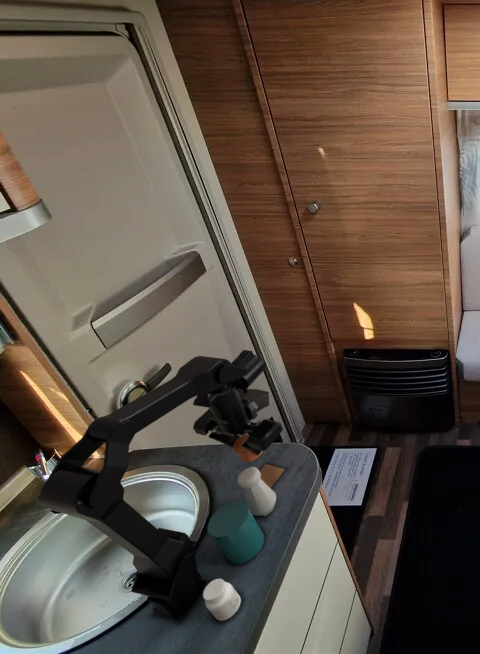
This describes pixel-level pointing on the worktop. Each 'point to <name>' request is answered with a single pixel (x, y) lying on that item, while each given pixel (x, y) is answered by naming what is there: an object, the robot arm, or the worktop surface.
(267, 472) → the coaster
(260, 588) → the worktop surface
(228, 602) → the pill bottle
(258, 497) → the salt shaker
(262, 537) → the tin
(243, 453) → the brown lid
